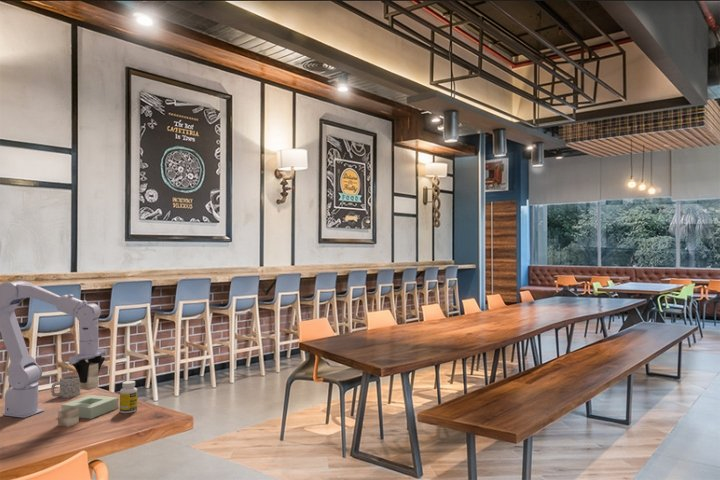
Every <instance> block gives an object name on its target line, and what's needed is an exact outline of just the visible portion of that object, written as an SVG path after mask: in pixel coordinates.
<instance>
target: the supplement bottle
mask: <svg viewBox="0 0 720 480" xmlns="http://www.w3.org/2000/svg"><path fill="white" fill-rule="evenodd" d="M121 383H122V385H121V386H122V387H121V389H120V390H119V412H120V413H121V414H131V413H132V414H133V413H135V412H136V411H138V388H137V387H135V386H136V381H135V380H126V381H123V382H121Z"/></svg>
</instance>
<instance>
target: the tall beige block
mask: <svg viewBox="0 0 720 480" xmlns="http://www.w3.org/2000/svg"><path fill="white" fill-rule="evenodd" d="M96 388H99V374H98V363H90V365H89V368H88V376H87V382H86V383H81V382H80V379H79V389H80V390H85V391H91V390H93V389H96Z"/></svg>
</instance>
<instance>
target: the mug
mask: <svg viewBox="0 0 720 480" xmlns="http://www.w3.org/2000/svg"><path fill="white" fill-rule="evenodd" d="M56 386H59V392H58V393H56V392H55V389H56V388H55V387H56ZM50 391H51V392H50V393H51V396H52V397H59V398H61V397H62V399H67V398H68V399H69V398H75V397H79V396H80V395H81V389H79V376H78V374H77V375H73V374H72V375H66V376H61V377H60V378H59V381H57V382H53V383H52V384H51V390H50Z"/></svg>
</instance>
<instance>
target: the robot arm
mask: <svg viewBox="0 0 720 480" xmlns="http://www.w3.org/2000/svg"><path fill="white" fill-rule="evenodd" d="M74 296H75V295H74V294H72V293H71V294H63V295H61V296H60V295H59V294H56V293H54V292H52V291H49V290H47V289H45V288H43V287H41V286H39V285H36V284H34V283H33V282H28V281H26V280H22V279H21V280H15V281H10V282H9V281H6V282H5V281H4V282H2V283H0V334H1V338H2V341H3V343H4V346H5V349H6V352H7V355H8V358H9V361H10V362H9V364H8V367H7V372H8V381H7V382H8V384H9V386H10V387H9V388H8V389H6V391H5V395H4V413H2V414H1V415H2V416H6V417H14V418H22V419H24V418H28V417H30V416H33V415H37V414H40V413H43V412H44V411H45V409H44V408H39V380H40V379H41V378H42V375H43V370H42V367H41V366H40V364H38V363H37V362H36V359H35V357H33V356H31V355H30V353H29V351H28V348H27V344H26V342H25V339H24V336H23V333H22V330H21V327H20V325H19V321H18V318H17V316H16V313H15V310H16V309H17V308H18V306H19V305H20V304H21V303H22V301H24V300H25V299H28V298H33V299H36V300H39V301H41V302H44V303H48V304H50V305H53V306H55V308H56V310H57V311H58V312H61V313H64V314H66V315H69V316H71V317H74V318H76V319H77V320H78V322H79V331H78V333H79V334H78V336H79V338H78V341H79V342H78V343H79V344H78V345H79V346H78V348H79V349H78V354H76V355H73V356H70V357H68V364H70V365H71V364H72V366H73V367H74V369H75V370H76V373H77V375H78V376H79V379H80V382H81V383H86V382H87V376H88V368H89V365H90V363H98V375H99V374H100V370H101V367H102V366H103V363H104V362H105V356H107V355H108V349H107V348H102V349H99V317H100V316H101V315H102V309H101V307H100V305H98V304H96V303H95V302H90V303H89V302H88V301H87V300H85V299H84V300H81V299H79V298H76V297H74Z"/></svg>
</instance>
